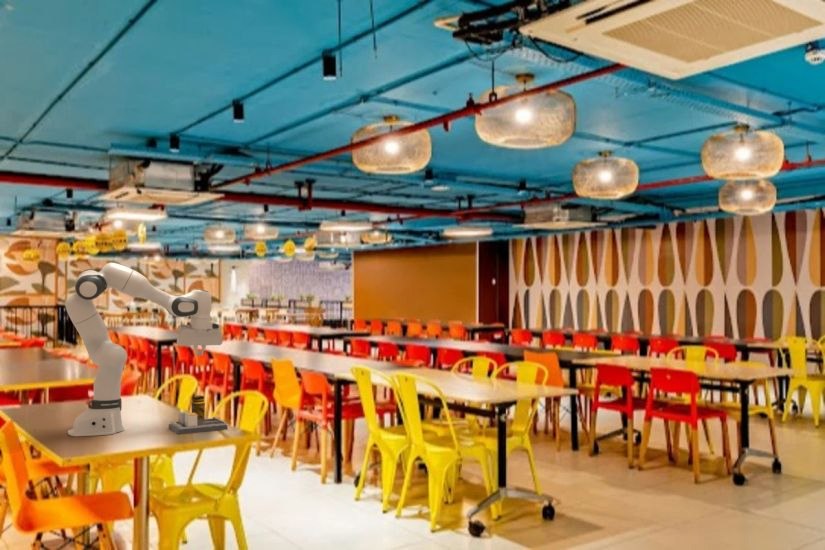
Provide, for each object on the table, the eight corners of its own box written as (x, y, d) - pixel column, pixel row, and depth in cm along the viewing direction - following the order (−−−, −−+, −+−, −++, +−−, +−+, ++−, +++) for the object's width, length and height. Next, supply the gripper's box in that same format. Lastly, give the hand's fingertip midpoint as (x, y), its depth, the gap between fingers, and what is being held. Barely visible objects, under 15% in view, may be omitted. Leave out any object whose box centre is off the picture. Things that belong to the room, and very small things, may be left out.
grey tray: (178, 434, 320) (178, 426, 320) (168, 428, 332) (168, 420, 333) (227, 429, 332) (227, 421, 332) (216, 424, 345) (216, 416, 345)
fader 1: (181, 424, 330) (181, 413, 330) (178, 422, 334) (178, 411, 334) (190, 423, 332) (190, 412, 332) (187, 422, 336) (187, 411, 336)
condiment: (207, 421, 350) (207, 396, 350) (189, 423, 346) (189, 397, 346) (202, 419, 356) (202, 394, 356) (184, 421, 352) (185, 395, 352)
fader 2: (188, 427, 324) (188, 415, 324) (184, 425, 328) (185, 413, 328) (197, 426, 326) (197, 414, 326) (193, 424, 330) (194, 412, 330)
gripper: (179, 324, 328) (178, 356, 327) (224, 325, 339) (223, 355, 338) (175, 324, 333) (174, 354, 333) (219, 324, 344) (218, 354, 344)
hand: (199, 355), depth 336 cm, fingers closed
